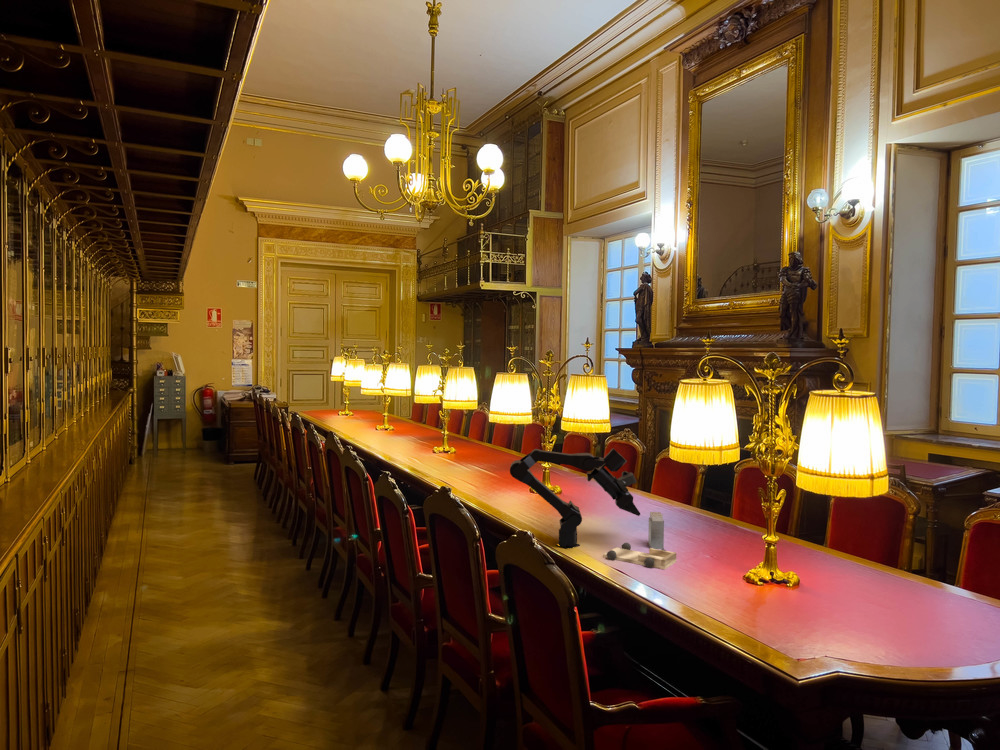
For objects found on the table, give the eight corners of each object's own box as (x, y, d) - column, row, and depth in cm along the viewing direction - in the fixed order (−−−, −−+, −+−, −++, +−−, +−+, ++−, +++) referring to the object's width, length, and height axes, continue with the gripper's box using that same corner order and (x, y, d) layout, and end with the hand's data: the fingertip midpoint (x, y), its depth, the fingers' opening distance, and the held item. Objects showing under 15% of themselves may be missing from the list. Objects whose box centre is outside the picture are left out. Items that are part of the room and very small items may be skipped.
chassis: (601, 558, 230) (601, 549, 230) (617, 549, 240) (617, 540, 240) (663, 570, 217) (663, 561, 217) (677, 560, 227) (677, 551, 227)
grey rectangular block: (650, 548, 241) (651, 515, 241) (648, 544, 246) (648, 512, 246) (663, 549, 241) (664, 515, 240) (660, 545, 246) (661, 512, 245)
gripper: (626, 469, 234) (658, 502, 233) (619, 461, 252) (649, 490, 252) (603, 492, 234) (635, 524, 234) (598, 482, 253) (627, 511, 253)
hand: (637, 511), depth 243 cm, fingers open, 9 cm apart
